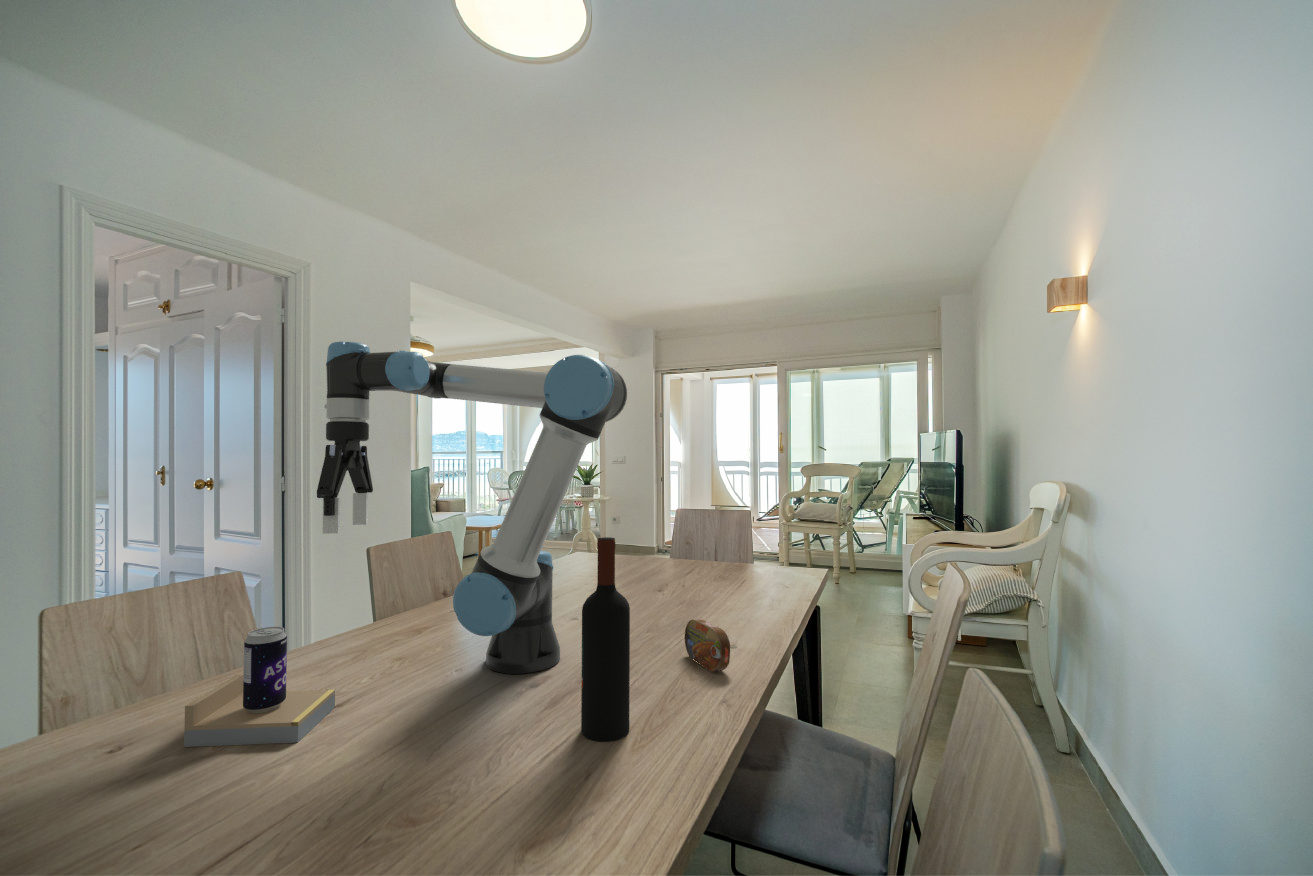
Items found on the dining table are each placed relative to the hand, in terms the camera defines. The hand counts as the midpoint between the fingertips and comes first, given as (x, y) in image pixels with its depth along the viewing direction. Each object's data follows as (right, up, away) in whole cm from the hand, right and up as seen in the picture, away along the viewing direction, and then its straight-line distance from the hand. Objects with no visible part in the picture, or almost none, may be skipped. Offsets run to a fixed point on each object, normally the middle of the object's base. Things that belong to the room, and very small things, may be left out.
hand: (346, 528), depth 115 cm
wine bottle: (+53, -28, -23) cm, 65 cm away
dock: (-1, -28, -22) cm, 36 cm away
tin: (+72, -29, +5) cm, 78 cm away
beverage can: (-1, -25, -22) cm, 34 cm away
